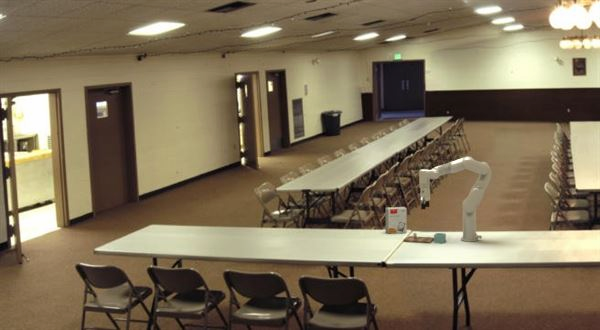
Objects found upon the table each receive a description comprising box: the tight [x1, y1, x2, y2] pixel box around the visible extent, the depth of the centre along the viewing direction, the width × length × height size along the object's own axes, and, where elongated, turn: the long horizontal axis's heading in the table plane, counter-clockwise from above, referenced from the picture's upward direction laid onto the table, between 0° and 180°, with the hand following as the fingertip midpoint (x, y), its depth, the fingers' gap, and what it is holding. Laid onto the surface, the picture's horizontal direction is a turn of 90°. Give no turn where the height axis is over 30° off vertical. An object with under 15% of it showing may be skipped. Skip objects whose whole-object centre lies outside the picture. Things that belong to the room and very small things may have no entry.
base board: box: [403, 232, 434, 245], centre depth 537 cm, size 20×14×6 cm
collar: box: [433, 232, 447, 244], centre depth 530 cm, size 7×7×6 cm
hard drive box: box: [385, 206, 408, 235], centre depth 567 cm, size 16×8×20 cm, turn 97°
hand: (425, 208), depth 538 cm, fingers open, 9 cm apart
